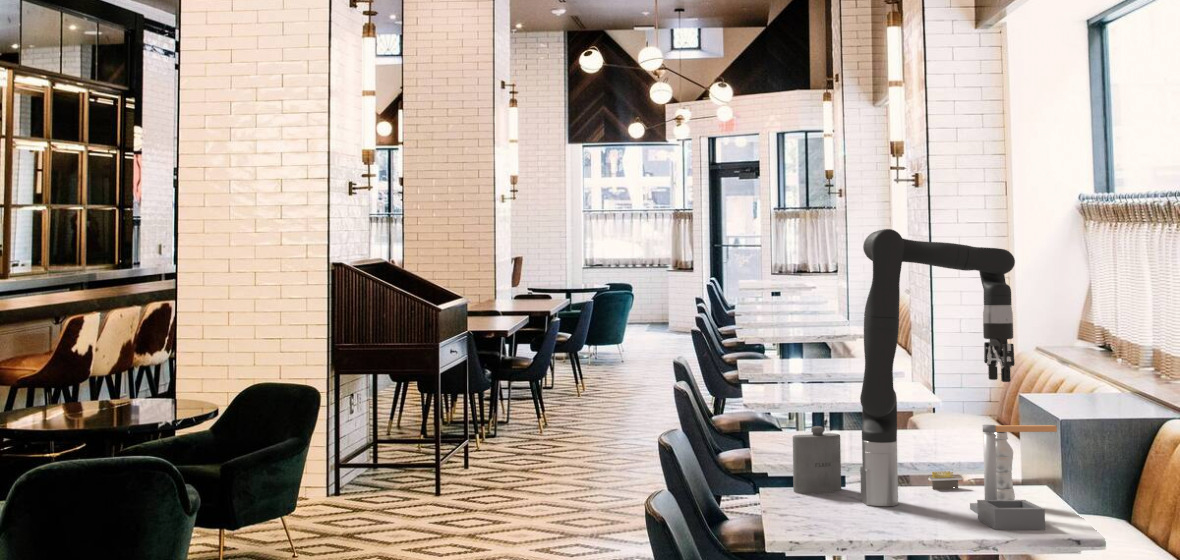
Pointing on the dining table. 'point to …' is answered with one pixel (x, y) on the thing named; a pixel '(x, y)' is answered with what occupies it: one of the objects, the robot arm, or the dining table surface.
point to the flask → (816, 462)
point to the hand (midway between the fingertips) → (999, 380)
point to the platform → (944, 480)
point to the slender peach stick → (1019, 428)
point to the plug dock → (1004, 511)
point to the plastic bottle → (1004, 467)
